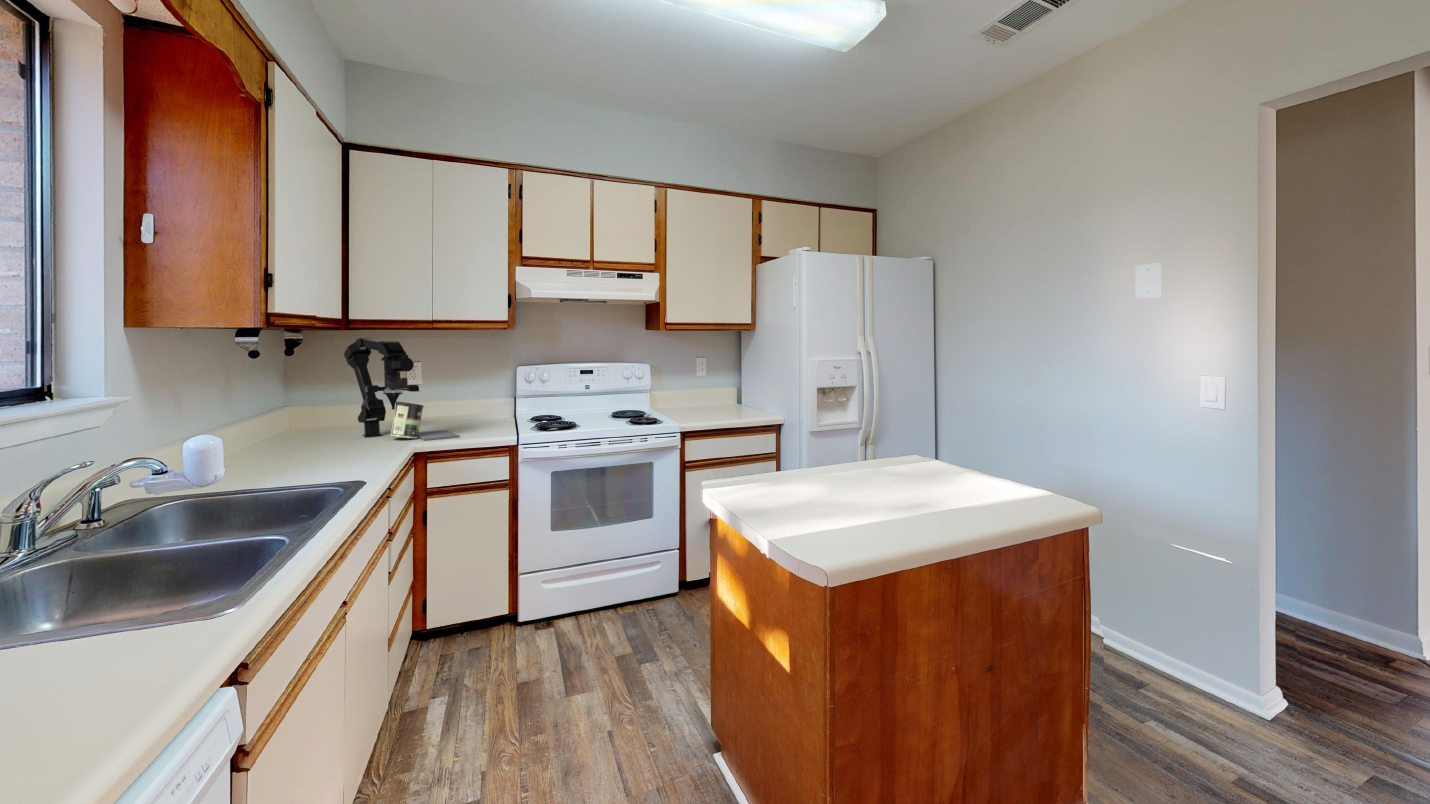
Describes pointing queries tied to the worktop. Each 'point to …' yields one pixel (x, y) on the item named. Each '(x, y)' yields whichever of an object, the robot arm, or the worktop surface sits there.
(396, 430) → the coffee can
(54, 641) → the worktop surface
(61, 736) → the worktop surface
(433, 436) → the rubber mat
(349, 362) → the robot arm
